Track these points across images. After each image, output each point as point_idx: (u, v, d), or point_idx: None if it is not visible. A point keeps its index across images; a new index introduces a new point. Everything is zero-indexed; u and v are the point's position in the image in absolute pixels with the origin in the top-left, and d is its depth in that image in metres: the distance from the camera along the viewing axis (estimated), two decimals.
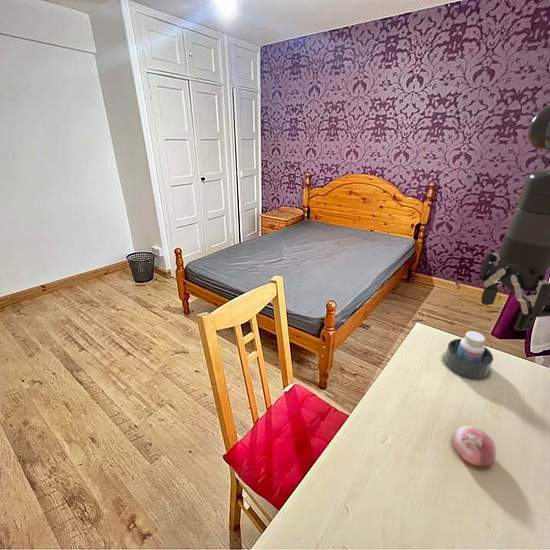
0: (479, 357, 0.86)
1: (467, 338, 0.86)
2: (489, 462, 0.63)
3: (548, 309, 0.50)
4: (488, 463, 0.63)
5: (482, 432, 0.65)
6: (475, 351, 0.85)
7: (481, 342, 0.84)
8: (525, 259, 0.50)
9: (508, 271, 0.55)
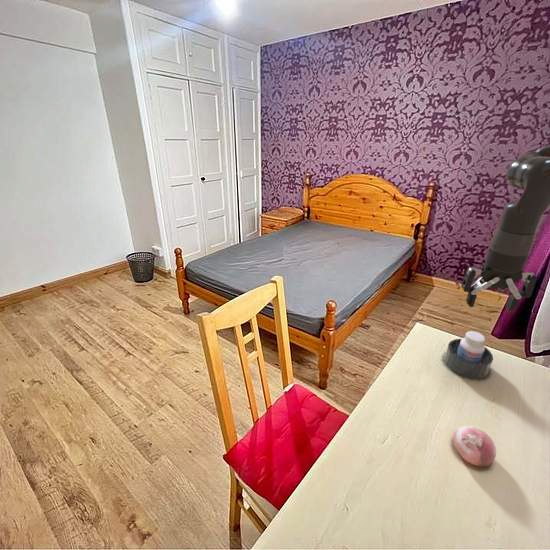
0: (479, 357, 0.86)
1: (467, 338, 0.86)
2: (489, 462, 0.63)
3: (526, 289, 0.74)
4: (488, 463, 0.63)
5: (482, 432, 0.65)
6: (475, 351, 0.85)
7: (481, 342, 0.84)
8: (523, 265, 0.68)
9: (498, 277, 0.72)
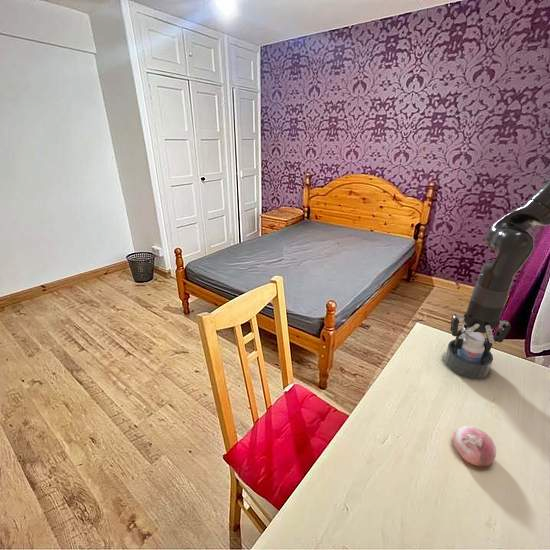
0: (479, 357, 0.86)
1: (467, 338, 0.86)
2: (489, 462, 0.63)
3: (499, 334, 0.84)
4: (488, 463, 0.63)
5: (482, 432, 0.65)
6: (475, 351, 0.85)
7: (481, 342, 0.84)
8: (499, 315, 0.79)
9: (479, 323, 0.82)
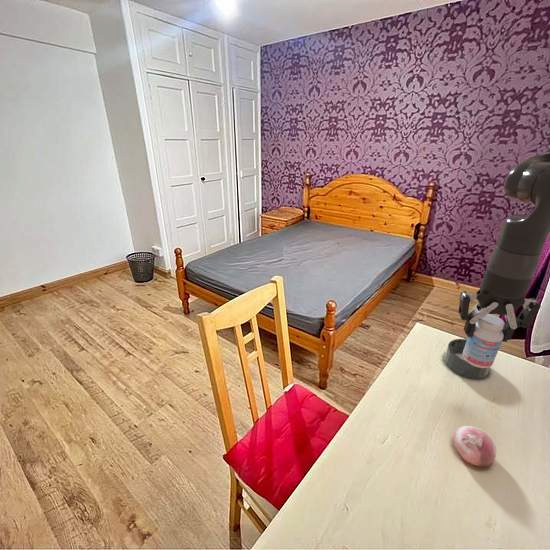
0: (496, 347, 0.65)
1: (481, 322, 0.65)
2: (489, 462, 0.63)
3: (523, 317, 0.64)
4: (488, 463, 0.63)
5: (482, 432, 0.65)
6: (491, 339, 0.64)
7: (499, 327, 0.64)
8: (526, 290, 0.58)
9: (497, 302, 0.62)
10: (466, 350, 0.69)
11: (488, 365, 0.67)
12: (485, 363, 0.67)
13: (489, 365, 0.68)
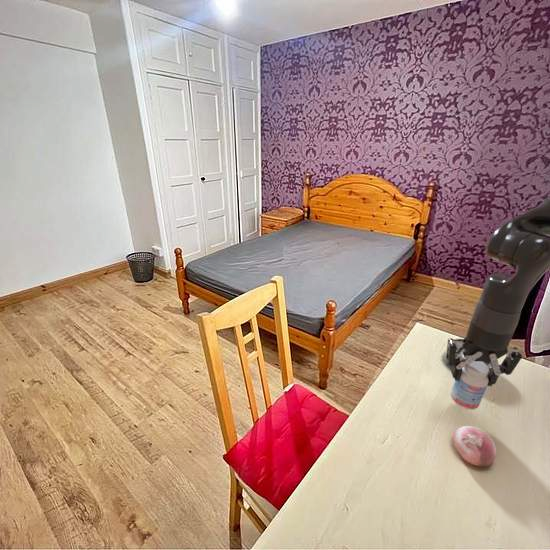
0: (482, 392, 0.69)
1: (467, 368, 0.69)
2: (489, 462, 0.63)
3: (507, 364, 0.68)
4: (488, 463, 0.63)
5: (482, 432, 0.65)
6: (477, 385, 0.68)
7: (484, 374, 0.67)
8: (508, 343, 0.62)
9: (481, 351, 0.66)
10: (454, 392, 0.73)
11: (474, 407, 0.71)
12: (471, 406, 0.71)
13: (475, 407, 0.71)
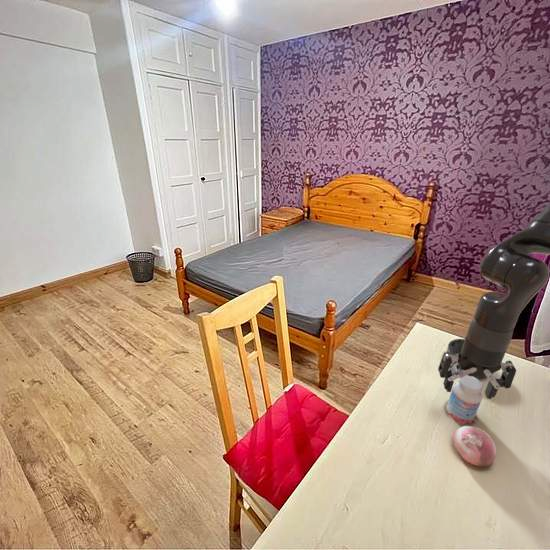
0: (475, 408, 0.71)
1: (461, 385, 0.71)
2: (489, 462, 0.63)
3: None
4: (488, 463, 0.63)
5: (482, 432, 0.65)
6: (471, 401, 0.70)
7: (478, 391, 0.70)
8: (501, 360, 0.64)
9: (476, 367, 0.68)
10: (449, 407, 0.75)
11: (468, 422, 0.73)
12: (465, 420, 0.73)
13: (469, 422, 0.74)
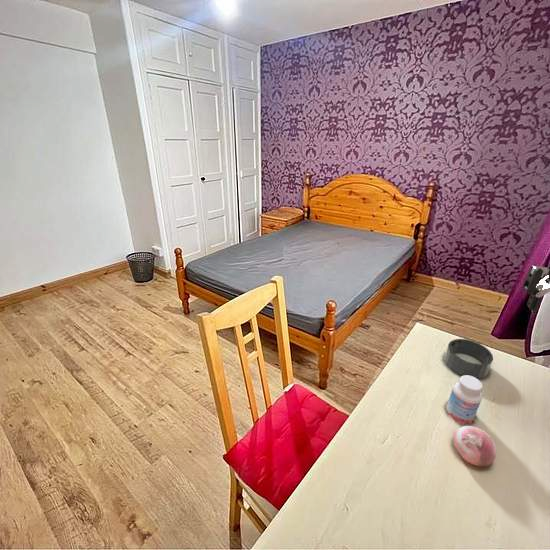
0: (475, 408, 0.71)
1: (461, 385, 0.71)
2: (489, 462, 0.63)
3: None
4: (488, 463, 0.63)
5: (482, 432, 0.65)
6: (471, 401, 0.70)
7: (478, 391, 0.70)
8: None
9: None
10: (449, 407, 0.75)
11: (468, 422, 0.73)
12: (465, 420, 0.73)
13: (469, 422, 0.74)
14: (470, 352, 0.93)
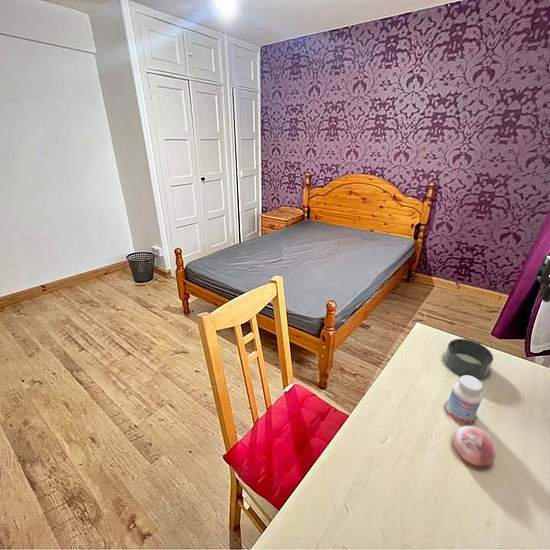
0: (475, 408, 0.71)
1: (461, 385, 0.71)
2: (489, 462, 0.63)
3: None
4: (488, 463, 0.63)
5: (482, 432, 0.65)
6: (471, 401, 0.70)
7: (478, 391, 0.70)
8: None
9: None
10: (449, 407, 0.75)
11: (468, 422, 0.73)
12: (465, 420, 0.73)
13: (469, 422, 0.74)
14: (470, 352, 0.93)
